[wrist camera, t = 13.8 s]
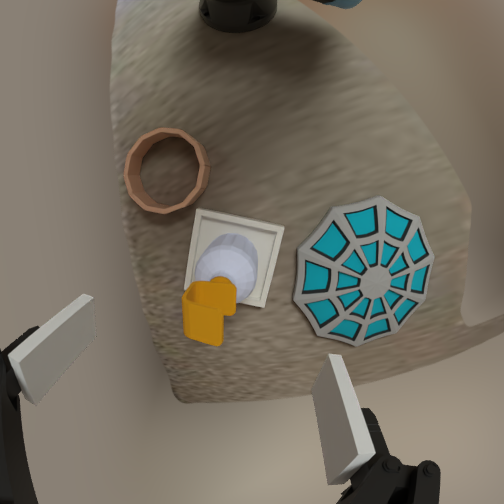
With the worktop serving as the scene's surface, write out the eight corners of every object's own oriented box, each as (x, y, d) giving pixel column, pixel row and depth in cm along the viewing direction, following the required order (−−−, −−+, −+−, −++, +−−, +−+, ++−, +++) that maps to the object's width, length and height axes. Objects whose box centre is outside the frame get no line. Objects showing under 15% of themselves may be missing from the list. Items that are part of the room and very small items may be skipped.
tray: (199, 207, 47) (196, 208, 45) (283, 225, 48) (284, 227, 45) (187, 284, 51) (183, 289, 49) (264, 302, 51) (264, 307, 49)
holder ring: (145, 129, 44) (133, 125, 39) (217, 138, 44) (212, 133, 39) (131, 202, 48) (119, 205, 43) (201, 216, 48) (194, 220, 43)
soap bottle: (256, 283, 49) (251, 369, 26) (206, 279, 50) (164, 359, 26) (259, 234, 47) (257, 288, 23) (207, 231, 47) (156, 280, 24)
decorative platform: (300, 187, 46) (304, 188, 42) (435, 203, 46) (449, 206, 41) (287, 342, 54) (289, 356, 49) (408, 337, 53) (418, 348, 48)
